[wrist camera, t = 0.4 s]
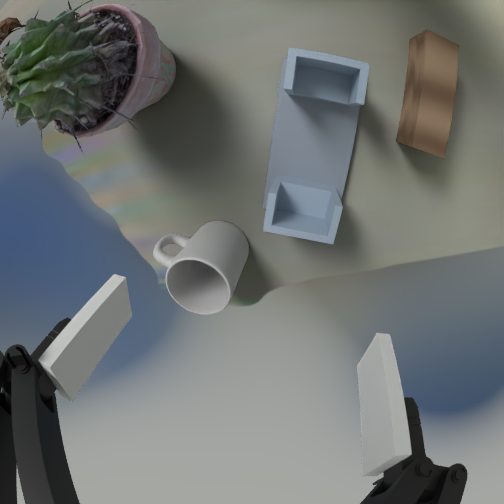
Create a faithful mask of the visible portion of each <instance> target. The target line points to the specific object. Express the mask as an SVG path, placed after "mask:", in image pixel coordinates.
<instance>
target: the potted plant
mask: <svg viewBox="0 0 504 504" xmlns="http://www.w3.org/2000/svg"><path fill="white" fill-rule="evenodd" d="M90 1H92V0H90ZM90 1H88V2H90ZM93 1H94V0H93ZM88 2H86V3H88ZM86 3H84V4H86ZM68 4H69V1H68ZM81 4H82V3H81ZM84 4H83V5H84ZM92 4H93V3H92ZM134 5H135V4H134ZM81 6H82V5H81ZM81 6H79V7H81ZM79 7H77V8H75V9H73V10H72V9H71V6H70V4H69V9H70V10H67V9H66V10H67V12H66V11H64V12H63V13H61V14H59V15H58V16H57V17H55V18H54V19H53V20H50V21H48V22H47V21H43V20H38V19H35V18H36V16H37V14H36V16H35V18H31V19H30V20H28V21H27V23H26V25H21V24H20V22H19V21H18V19H17V18H6V19H4V20H2V21H1V22H0V44H1V43H2V41H3V40H4V39H5V38H6V37H7V36H8V35H9V34H10V33H12V32H13V31H15V30H13V29H14V28H17V27H21V28H22V27H26V28H25V32H24V33H22V34H21V39H19V40H18V41H17V42H15V43H14V44H12V45H10V46H9V42H10V41H9V42H8V44H7V45H6V47H4V48H3V49H2V50H1V51H0V53H1V52H4V53H6V54H4V56H3V58H2V57H0V59H3V60H2V62H4V61H5V62H4V64H3V63H2V62H1V63H2V67H3V70H2V71H1V72H0V85H1V86H0V94H1V99H2V98H3V97H4V95H6V94H7V95H8V96H7V97H8V98H7V99H6V100H5V101H4V103H3V105H4V106H5V108H4V112H3V117H4V114H5V112H6V110H8V109H10V108H12V107H15V114H14V118H15V119H16V120H18V121H17V124H18V125H19V126H20V127H21V126H22V125H23V124H25V123H26V122H27V121H29V120H30V119H31V118H35V119H36V120H37V124H38V128H39V130H41V137H42V129H43V128H45V127H46V126H47V124H48V123H49V122H51V121H52V123H53V124H54V125H55V129H56V131H57V132H59V133H60V132H62V133H63V134H64V133H66V134H69V135H71V136H74V137H75V139H76V140H77V138H80V137H89V136H93V135H96V134H98V133H101V132H104V131H107V130H111V129H114V128H117V127H118V126H120V125H121V124H123V123H124V122H126V121H127V120H128V121H129V119H130V120H131V118H132V117H133V116H134V115H135V114H136V113H137V112H138V111H139V110H141V109H143V108H145V107H147V106H150V105H152V104H154V103H156V102H158V101H159V100H160V99H161V98H162V97H163V96H165V95H166V94H167V93H168V91H169V90H170V88H171V86H172V85H173V83H174V81H175V75H176V62H175V59H174V57H173V54H172V52H171V51H170V50H169V49H168V48H167V47H166V46H165V45H164V44H163V42H162V41H161V40H160V39H159V37H158V35H157V32H156V29H155V27H154V26H153V25H152V24H151V23H150V22H149V21H148V20H147V19H146V18H144V17H142V16H141V15H139V14H137V13H136V12H134V11H132V10H131V9H128V8H126V7H124V6H122V5H119V4H105V5H101V6H97V7H93V8H90V9H89V10H87V11H86V12H84V13H83V14H81V15H79V14H78V13H76V12H74V11H76V10H77V9H78V8H79ZM91 7H92V6H91ZM38 11H39V10H38ZM37 13H38V12H37ZM75 15H76V18H75ZM18 29H20V28H18ZM12 30H13V31H12ZM16 30H17V29H16ZM5 98H6V97H5ZM5 98H4V99H5ZM2 100H3V99H2ZM2 119H3V118H2ZM132 121H133V120H132ZM129 122H130V121H129ZM130 123H131V122H130ZM77 143H78V145H80V144H79V142H78V140H77ZM79 147H80V146H79ZM80 149H81V148H80ZM81 152H82V151H81Z"/></svg>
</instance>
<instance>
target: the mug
mask: <svg viewBox="0 0 504 504" xmlns="http://www.w3.org/2000/svg"><path fill="white" fill-rule="evenodd" d="M172 243H173V244H177V245H179V246H180V247H182V248H183V249H182V250H181V251H180V253H179V254H178V255H177V256H172V255H169V254H167V253H165V252H164V251H163V250H162V248H163V247H164V246H166V245H167V244H172ZM248 254H249V245H248V241H247V239H246V237H245V235H244V234H243V232H242V231H241V230H240V229H239V228H238V227H236V226H235V225H233V224H231V223H228V222H225V221H212V222H209V223H206V224H205V225H203V226H202V227H201V228H200V229H199V230H198V231H197V232H196V233H195V234H194V236H193V237H192V238H191V239H190V238H187V237H185V236H182V235H179V234H175V233H171V234H168V235H166V236H164V237H162V238H161V239H160V240H159V241H158V243H157V244H156V246H155V248H154V252H153V255H154V258H155V260H156V261H157V262H159V263H160V264H162V265H163V266H165V267H167V268H168V270H167V273H166V285H167V289H168V291H169V293H170V295H171V296H172V298H173V299H174V300H175V301H176V302H177V303H178V304H179V305H181V306H182V307H183V308H185V309H187V310H188V311H191V312H193V313H196V314H201V315H211V314H216V313H218V312H220V311H222V310H223V309H225V308H226V307H227V305H228V304H229V302H230V300H231V298H232V295H233V293H234V290H235V288H236V285H237V283H238V280H239V277H240V275H241V272H242V270H243V267H244V265H245V263H246V261H247V258H248Z"/></svg>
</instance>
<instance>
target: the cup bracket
mask: <svg viewBox="0 0 504 504" xmlns="http://www.w3.org/2000/svg"><path fill="white" fill-rule="evenodd" d="M369 65H370V64H367V63H364V62H360V61H356V60H352V59H348V58H344V57H340V56H335V55H330V54H326V53H320V52H315V51H309V50H303V49H296V48H289V50H288V57H287V58H283V60H282V68H281V75H280V83H279V90H278V97H277V105H276V112H275V119H274V126H273V134H272V141H271V148H270V155H269V163H268V170H267V177H266V184H265V191H264V198H263V205H262V208H265V209H266V213H265V220H264V227H263V231H266V232H271V233H276V234H282V235H287V236H292V237H297V238H302V239H307V240H313V241H318V242H323V243H328V244H333V243H334V240H335V236H336V232H337V228H338V225H339V221H340V217H341V213H342V209H343V206H342V203H341V200H342V195H343V191H344V187H345V182H346V178H347V173H348V169H349V164H350V159H351V154H352V149H353V144H354V139H355V133H356V128H357V122H358V117H359V111H360V105H364V101H365V95H366V88H367V81H368V73H369Z"/></svg>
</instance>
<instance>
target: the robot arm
mask: <svg viewBox="0 0 504 504" xmlns="http://www.w3.org/2000/svg"><path fill="white" fill-rule="evenodd" d="M131 316H132V312H131V306H130V301H129V295H128V290H127V283H126V278H125V277H122V276H119V275H116V274H114V275H113V276H112V277H111V278H110V279H109V280H108V281H107V282H106V283H105V284H104V285H103V286H102V287H101V288H100V290H99V291H98V292H97V293H96V294H95V295H94V296H93V297H92V298H91V299H90V300H89V301H88V302H87V303H86V304H85V306H84V307H83V308H82V309H81V310H80V311H79V312H78V313H77V314H76V316H75V317H74V318H73V319H72V320H71V319H69V318H66V319H64V320H62V321H61V322H59V323H58V324H57V325H56V326H55V328H54V329H53V331H51V332H50V333H49V334H48V336H47V337H46V338H45V339H44V340H43V341H42V342H41V344H40V345H39V346H38V347H37V348H36V350H35V351H34V352H33V353H32V354H31V355H29V354H28V352H27V350H26V349H25V347H24V346H22V345H13V346H11V347H10V348H8V350H7V351H6V352H5V356H4V355H3V353H2V352H1V351H0V392H1V388H3V389H2V392H1V393H0V504H17V491H16V468H18V473H19V478H20V483H21V487H22V492H23V496H24V499H25V503H26V504H80V503H79V500H78V497H77V494H76V491H75V488H74V485H73V482H72V479H71V474H70V471H69V467H68V463H67V459H66V455H65V451H64V446H63V441H62V436H61V430H60V425H59V418H58V412H57V404H56V397H55V393H54V392H55V390H56V389H57V390H58V391H59V393H60V394H61V395H62V396H63V397H65V398H67V399H68V400H70V401H72V402H73V401H74V399H75V398H76V396H77V395H78V393H79V391H80V390H81V388H82V387H83V385H84V384H85V382H86V381H87V379H88V378H89V376H90V375H91V373H92V372H93V370H94V369H95V367H96V366H97V364H98V363H99V361H100V360H101V359H102V357H103V356H104V354H105V353H106V351H107V350H108V348H109V347H110V346H111V344H112V343H113V341H114V340H115V338H116V337H117V336H118V334H119V333H120V331H121V330H122V329H123V327H124V326H125V324H126V323H127V322H128V320H129V319H130V318H131ZM357 375H358V387H359V400H360V417H361V443H362V445H361V446H362V476H377V475H379V474H381V473H382V472H384V477H383V478H381V479H379V480H377V481H376V482H374V483H373V485H376V484H377V485H376V486H375V487H374V489H373V490H372V491H371V492H370V493H369V494H368V495H367V497H366V498H365V499H364V500H363V501H362V502H361V503H360V504H460V502H461V499H462V495H463V492H464V488H465V484H466V481H467V470H466V468H465V467H464V466H463V465H462V464H455V465H452V466H451V467H449V468H448V467H443V466H438V465H435V464H433V462H432V461H431V459H430V458H428V457H426V454H425V449H424V442H423V435H422V429H421V426H420V424H421V422H420V418H419V411H418V407H417V405H416V403H415V401H414V400H413V398H404V396H403V391H402V386H401V381H400V376H399V371H398V367H397V362H396V358H395V354H394V349H393V345H392V341H391V337H390V335H389V334H382V333H376V335H375V337H374V339H373V340H372V342H371V344H370V345H369V347H368V349H367V350H366V352H365V354H364V355H363V357H362V359H361V360H360V362H359V364H358V365H357ZM16 466H17V467H16Z"/></svg>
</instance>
